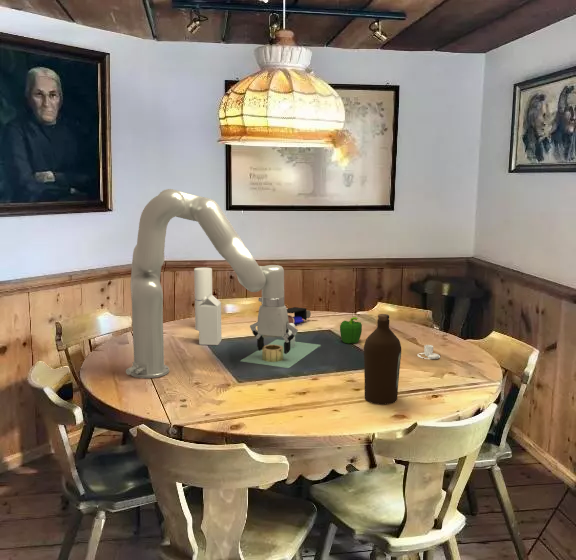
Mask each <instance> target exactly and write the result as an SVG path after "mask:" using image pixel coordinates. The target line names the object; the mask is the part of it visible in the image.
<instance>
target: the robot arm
mask: <svg viewBox="0 0 576 560" xmlns="http://www.w3.org/2000/svg"><path fill="white" fill-rule="evenodd" d="M175 217H176V218H180V219H185V220H188V221H193V222H198V224H199V226H200V227H201V229H202V231H203V232H204V234H205V235H206V236H207V238H208V240H210V242H211V244H212V245H213V247H214V248H215V251H217V253H218V254H219V256H221V257H222V258H223V259H224V260H225V261H226V262H227V263H228V264H229V266H230V267H231V268H232V270H233V271H234V273H235V274H236V278H237V281H238V282H239V284H240V285H241V286H242V287H243V288H245V289H246V290H247V291H248V292H252V293H257V292H260V291H261V297H258V302H259V303H261V305H259V308H258V315H257V321H256V322H254V323H252V324H251V325H249V328H250V331H251V333H252V335H254V337H255V339H256V340H257V343H256V347H257V351H260V350H262V347H263V346H265V339H264V336H266V337H275V338H282V340H285V342H284V353H285V354H287V353H288V352H289V351H290V341H291V340H292V339H293V338H294V337H295V338H296V335H297V333H298V331H299V330H298V328H297V327H296V326H295V327H293V326H291V325H290V324H289V321H288V315H289V313H287V309H288V308H287V306H286V305H285V269H284V268H283V266H282V265H278V264H277V265H276V264H269V265H259V264H258V262H257V261H256V259H255V258H254V256H253V255H252V254H251V253H252V252H250V250H249V249H248V248H247V246H246V245H245V243H244V242H243V239H241V236H239V233H238V232H237V231H236V230H235V228H234V227H233V224H232V223H231V221H230V220H229V219H228V218H227V215H226V214H225V213H224V211H223V210H222V208H221V206H220V205H219V203H217V201H215V200H214V199H213V198H209V197H205V196H200V195H195V194H192V193H188V192H184V191H180V190H177V189H173V188H166V189H163V190H162V191H160V192H159V193H158V195H156V196H154V197H153V198H151V200H150V201H148V202H147V204H146V205H145V206H144V208H143V210H142V212H141V214H140V218H139V223H138V231H137V240H136V245H135V247H134V248H133V253H132V258H131V259H132V262H131V273H130V293H131V316H132V317H131V321H132V341H133V345H132V346H133V361H132V366H130V367H128V368H126V370H125V373H126V375H128V376H129V375H130V376H131V377H134V378H139V379H153V378H160V377H163V376H165V375H167V374H169V372H170V367H169V366H168V365H166V364H165V347H164V342H165V341H164V319H163V318H164V317H163V316H164V314H163V313H164V312H163V309H164V307H163V305H164V293H163V286H162V284H161V272H162V266H163V265H164V261H165V247H166V246H165V245H166V235H167V229H168V224H169V222H170V221H171V220H172V219H173V218H175ZM289 330H290V331H292V334H291V335H289V334H288V332H289Z"/></svg>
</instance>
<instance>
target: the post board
mask: <svg viewBox="0 0 576 560" xmlns="http://www.w3.org/2000/svg"><path fill="white" fill-rule="evenodd" d="M289 324H290V325H291V326H293V327H295V328H296V324H293V323H289ZM288 334H289V335H291V334H292V331H290V330H289V332H288ZM284 342H285V340H284V339H274V340H273V341H271V342H269V343H267V345H280V346H283V360H281V361H278V362H268V361H264V360H263V359H262V350H260V351H258V350H256V351H254V352H253V353H251V354H249V355H246V357H244V358H243V359H241V360H240V362H241V363H243V362H244V363H249V364H256V365H258V364H259V365H265V366H272V367H277V368H285V369H289V368H291V367H292V366H294V365H296V363H298V362H299V361H301V360H302V359H304V358H305V357H306V356H308V355H309V354H311V353H313V351H315V350H316V349H318V348H322V345H321V344H317V343H309V342H303V341H301V342H300V341H296V336H295V337H294V338H293V339H292V340H291V341H290V351H289V352H288V353H287V354H285V353H284Z"/></svg>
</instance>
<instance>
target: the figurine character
mask: <svg viewBox="0 0 576 560" xmlns="http://www.w3.org/2000/svg"><path fill="white" fill-rule="evenodd" d="M287 313H288V321H289V323H293V324H294V325H296V324H305V323H306V320H307V319H309V318H311V311H310V310H307V307H306V308H305V307H299V306H298V307H297V306H294V307H289V308H287ZM290 314H294V316H292V315H290Z"/></svg>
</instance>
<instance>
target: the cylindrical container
mask: <svg viewBox="0 0 576 560" xmlns="http://www.w3.org/2000/svg"><path fill="white" fill-rule="evenodd" d="M193 269H194V270H193V273H194V275H193V280H194V282H193V283H194V285H193V286H194V316H195V319H194V321H195V322H194V324H195V325H194V326H195V328H194V329H195V330H196V331H198V332H199V305H200V304H201V303H202V301H201V299H202V298H204V297H205V296H206V298H208V295H209V294H210V293H211V292H212V293H213V268H212V267H195V268H193Z"/></svg>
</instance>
